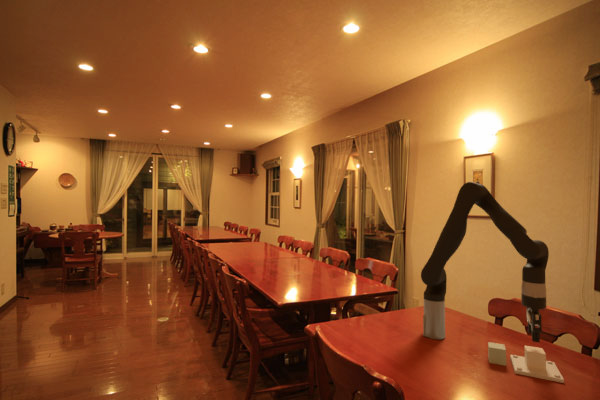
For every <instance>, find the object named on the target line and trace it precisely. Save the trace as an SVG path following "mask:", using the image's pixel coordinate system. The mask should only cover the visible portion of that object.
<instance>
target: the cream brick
mask: <svg viewBox="0 0 600 400" xmlns="http://www.w3.org/2000/svg"><path fill="white" fill-rule="evenodd" d="M524 357H525V363H526V366H527V368H532V369H537V370H543V371H546V361H547V354H546V352H545V350H544V349H543V348H542V347H536V346H531V345H530V346H529V345H524Z"/></svg>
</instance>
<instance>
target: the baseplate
mask: <svg viewBox="0 0 600 400" xmlns="http://www.w3.org/2000/svg"><path fill="white" fill-rule="evenodd" d="M509 356H510V357H509V358H510V361H511V364H512V367H513V372H514V374H517V375H521V376H525V377H526V376H527V377H532V378H536V379H542V380H547V381H552V382H557V383H562V384H565V379H564V377H563V375H562V374H561V372H560V370H559V368H558V367H557V365H556V363H555V361H551V360H546V371H543V370H537V369H532V368H527V366H526V363H525V356H523V355H522V356H521V355H516V354H510V355H509Z"/></svg>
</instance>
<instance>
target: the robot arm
mask: <svg viewBox="0 0 600 400" xmlns="http://www.w3.org/2000/svg"><path fill="white" fill-rule="evenodd" d="M455 198H456V199H455V201H454V205H453V207H452V210H451V212H450V214H449V216H448V218H447V220H446V222H445V224H444V226H443V228H442V231H441V232H440V234H439V237H438V239H437V241H436V243H435V245H434V248H433V251H432V252H431V255H430V257H429V258H428V259H427V261H426V263H425V264H424V266H423V268H422V269H421V272H420V278H421V280H422V282H423V284H424V285H426V288H425V290H424V292H423V315H422V319H423V321H422V325H423V327H422V332H423V334H422V336H423V337H426V338H429V339H430V340H431V339H433V340H444V339H446V304H445V303H446V300H445V299H446V298H445V297H446V294H447V271H446V269H445V267H446V264H447V262H448V261H449V260H450V259H451V258H452V257H453V255H454V254H455V253H456V252H457V250H459V247H460V246H461V244H462V243H463V241H464V239H465V236H466V235H467V226H468V225H467V224H468V217H469V215H470V212H471V211H472V209H473V207H474V205H476V206H477V207H479V209H482V210H483V211H484V213H486V214H487V216H488V217H489V218H490V219H491V221H492V223H493V224H494V226H496V228H497V229H498V230H499V231H500V232H501V233H502V234H503V235H504V236H505V237H506V238H507V239H508V241H510V243H511V245H512V246H513V247H514V249H515V250H516V252H517V253H518V254H519V255H520V256H521V257H522V258H524V259H525V260H526V264H525V265H524V266H522V269H521V270H522V272H521V275H522V276H521V278H522V281H521V287H520V289H521V297H520V298H521V305H522V306H523V307H525V308H526V311H525V312H526V321H527V333H529V334H530V335H531V340H532V342H534V343H540V342H541V340H540V339H541V335H540V334H541V333H542V331H543V330H542V318H543V317H542V313H540V310H546V308H547V285H546V269H547V266H548V261H549V255H550V254H549V252H550V251H549V248H548V246H547V244H546V243H545V242H544V241H542V240H538V239H535V240H533V239H532V238H531V237H529V235H528V234H527V229H526V228H525V226H524V225H522V224H521V223H520V222H519V221H518V220H516V218H514V217H513V216H512V215H511V214H510V213H509V212H508V211H507V210H506V209H505V208H504V207H502V205H501V204H500V203H499V202H498V201H497V200H496V198H495V197H494V196H493V195H492V194H491V192H490V191H489V189H488V188H487V187H486V186H485V185H484V184H482V183H477V182H476V181H475V182H474V181H468V182H466V183H464V184H463V185H462V186H461V187H460V188H459V191H458V192H457V196H456V197H455ZM536 326H537V327H536Z"/></svg>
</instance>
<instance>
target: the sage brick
mask: <svg viewBox="0 0 600 400" xmlns="http://www.w3.org/2000/svg"><path fill="white" fill-rule="evenodd" d="M487 348H488V349H487V356H488V357H487V358H488V363H489V364H495V365H500V366H504V367H505V366H507V349H506V346H505V343H496V342H491V341H488V342H487Z"/></svg>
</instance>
